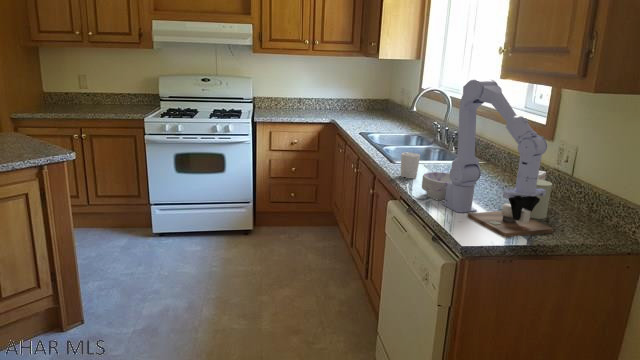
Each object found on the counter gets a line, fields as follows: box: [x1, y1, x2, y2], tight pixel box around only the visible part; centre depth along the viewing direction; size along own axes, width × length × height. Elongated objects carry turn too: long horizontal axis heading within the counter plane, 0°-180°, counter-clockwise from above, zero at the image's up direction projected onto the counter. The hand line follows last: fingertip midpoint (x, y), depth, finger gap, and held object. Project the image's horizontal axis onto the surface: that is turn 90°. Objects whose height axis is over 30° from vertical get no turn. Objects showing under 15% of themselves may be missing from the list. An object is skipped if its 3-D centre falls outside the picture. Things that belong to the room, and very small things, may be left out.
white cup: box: [400, 151, 421, 179], centre depth 203 cm, size 8×8×10 cm
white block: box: [501, 202, 531, 223], centre depth 147 cm, size 10×5×4 cm, turn 19°
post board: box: [467, 210, 554, 238], centre depth 150 cm, size 18×18×3 cm
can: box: [521, 179, 553, 220], centre depth 161 cm, size 9×9×12 cm
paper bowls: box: [421, 171, 451, 202], centre depth 176 cm, size 15×15×8 cm
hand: (520, 219), depth 146 cm, fingers open, 3 cm apart
